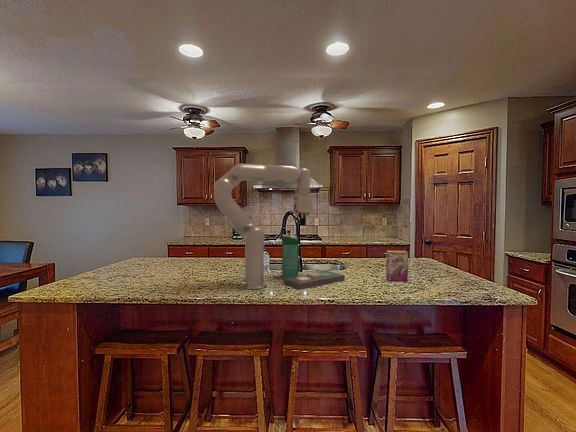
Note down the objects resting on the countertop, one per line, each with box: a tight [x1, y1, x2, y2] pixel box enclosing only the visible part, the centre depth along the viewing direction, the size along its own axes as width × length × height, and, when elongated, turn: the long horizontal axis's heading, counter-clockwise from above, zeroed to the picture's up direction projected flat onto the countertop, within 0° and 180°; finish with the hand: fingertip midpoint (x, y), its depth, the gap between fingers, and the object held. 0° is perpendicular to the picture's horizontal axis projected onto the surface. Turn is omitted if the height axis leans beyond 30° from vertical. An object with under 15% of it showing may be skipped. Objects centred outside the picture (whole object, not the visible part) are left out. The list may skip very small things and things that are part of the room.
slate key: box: [306, 272, 323, 279], centre depth 175 cm, size 6×6×2 cm
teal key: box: [321, 273, 333, 277], centre depth 179 cm, size 6×6×2 cm
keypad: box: [283, 270, 346, 291], centre depth 175 cm, size 32×14×3 cm, turn 126°
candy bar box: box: [385, 250, 409, 282], centre depth 179 cm, size 11×5×16 cm, turn 84°
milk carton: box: [281, 234, 299, 280], centre depth 186 cm, size 9×9×25 cm
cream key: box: [296, 277, 311, 281], centre depth 170 cm, size 6×6×2 cm
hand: (302, 225), depth 173 cm, fingers closed
